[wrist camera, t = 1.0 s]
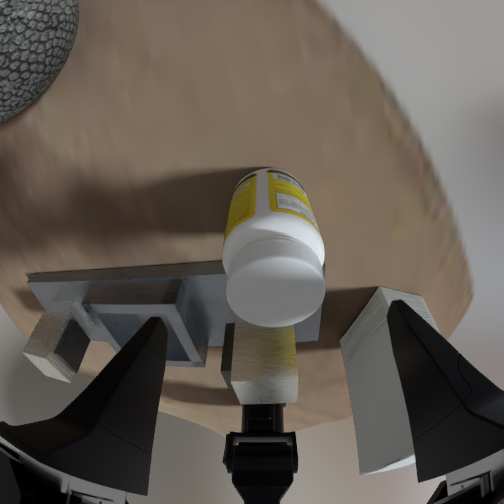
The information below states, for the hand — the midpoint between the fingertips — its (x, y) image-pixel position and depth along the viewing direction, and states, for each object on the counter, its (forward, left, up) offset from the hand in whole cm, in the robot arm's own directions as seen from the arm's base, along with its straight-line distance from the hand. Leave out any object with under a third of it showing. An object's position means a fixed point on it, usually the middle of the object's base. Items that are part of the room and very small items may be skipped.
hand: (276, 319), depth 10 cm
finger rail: (-9, +11, -9) cm, 17 cm away
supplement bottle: (0, 0, -10) cm, 10 cm away
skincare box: (-13, -10, -10) cm, 19 cm away
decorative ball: (+15, +13, -10) cm, 22 cm away
